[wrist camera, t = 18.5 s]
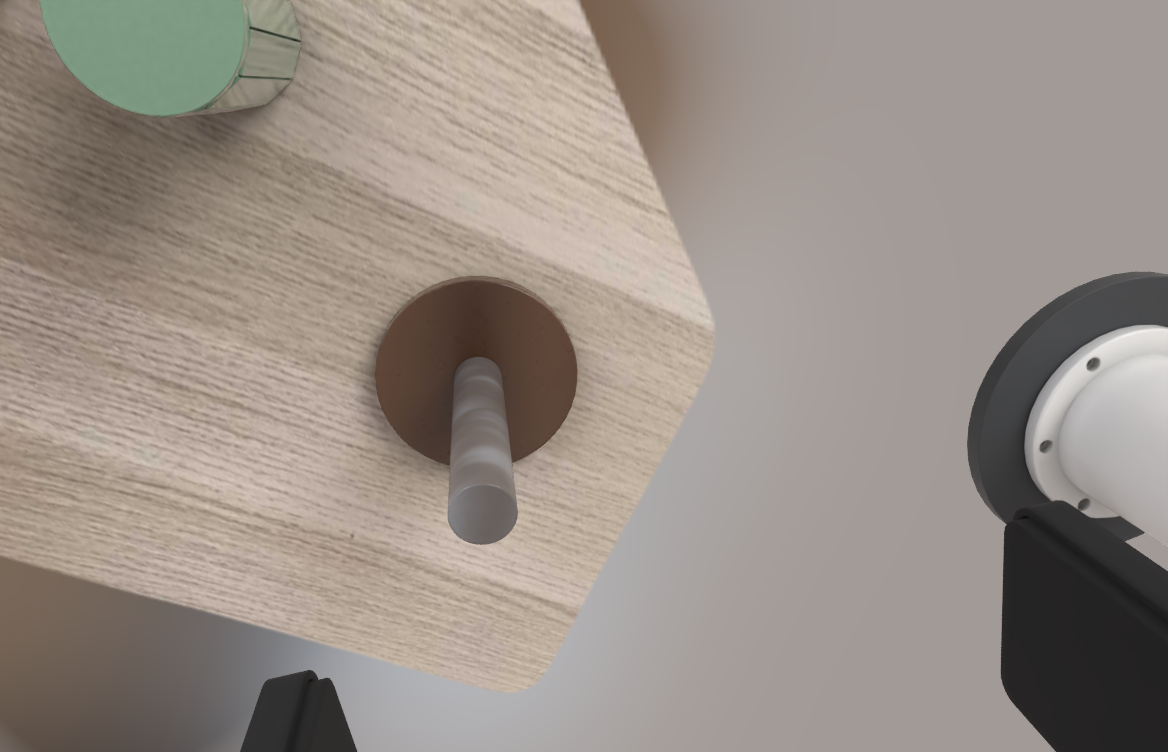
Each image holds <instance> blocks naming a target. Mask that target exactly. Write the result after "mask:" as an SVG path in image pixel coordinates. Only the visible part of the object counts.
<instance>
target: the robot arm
mask: <svg viewBox="0 0 1168 752" xmlns="http://www.w3.org/2000/svg"><path fill="white" fill-rule="evenodd" d="M1024 450H1025V458H1026V465H1027V467H1028V470H1029V473H1030V476H1031V478H1032V480H1033V481H1034V483H1035V484H1036V486H1037V487H1038V489H1039V490H1040V491H1041V492H1042V493H1043V494H1044V495H1045V496H1046V497H1047V498H1049V499H1050V500H1051V502H1046V503H1042V504H1038V505H1033V506H1029V507H1024V508H1021V509H1019V510H1017V511H1016V513H1015V514H1014V517H1013V521H1012V522H1009V523H1007V525H1006V527H1005V531H1004V563H1003V603H1002V604H1003V605H1002V643H1001V645H1002V647H1001V679H1002V683H1003V686H1004V689H1005V691H1006V693H1007V695H1008V697H1009V698H1010V700H1011V701H1012V702H1013V703H1014V705H1015V706H1016V707H1017V708H1018V709H1019V710H1020V712H1022V714H1023V715H1024V716H1025V717H1026V718H1027V719H1028V721H1029V722H1030V723H1031V724H1032V725H1033V726H1034V727H1035V729H1036V730H1037V731H1038V732H1039V733H1040V734H1041V735H1042V736H1043V738H1044V739H1045V740H1046V741H1047V742H1048V743H1049V744H1050V745H1051V747H1052V748H1053V749H1054V750H1055V751H1056V752H1168V571H1166V570H1165V569H1164V568H1162V567H1161V566H1159V565H1158V564H1156V563H1155V562H1153V561H1152V560H1150V559H1149V558H1148V557H1146V556H1145V555H1143V554H1142V553H1140V552H1139V551H1137V550H1136V549H1135V548H1133V547H1132V546H1130V545H1129V544H1127V543H1126V542H1124V541H1123V540H1122V539H1120V538H1119V537H1117V536H1116V535H1114V534H1113V533H1111V532H1110V531H1109V530H1107V529H1106V528H1104V527H1103V526H1101V525H1100V524H1098V523H1097V522H1096V521H1094V520H1093V519H1091V518H1110V517H1117V516H1121V517H1122V518H1124V519H1125V520H1127V521H1128V522H1130V523H1131V524H1133V525H1134V526H1136V527H1138V528H1139V529H1141V530H1142V531H1144V532H1145V533H1147V534H1148V535H1150V536H1151V537H1153V538H1155V539H1156V540H1157V541H1159V542H1161V543H1162V544H1164V545H1165V546H1166V547H1168V327H1164V326H1159V325H1134V326H1130V327H1125V328H1120V329H1117V330H1114V331H1112V332H1109V333H1107V334H1104V335H1102V336H1099V337H1098V338H1096V339H1094V340H1093V341H1091V342H1089V343H1088V344H1086V345H1084V346H1083V347H1081V348H1080V349H1079V350H1077V351H1076V352H1075V353H1074V354H1072V355H1071V356H1070V357H1069V358H1068V359H1066V360H1065V361H1064V362H1063V363H1062V364H1061V366H1060V367H1059V368H1058V369H1057V370H1056V371H1055V372H1054V373H1053V374H1052V375H1051V377H1050V378H1049V380H1048V381H1047V383H1046V384H1045V386H1044V387H1043V389H1042V390H1041V392H1040V393H1039V395H1038V397H1037V399H1036V401H1035V404H1034V406H1033V408H1032V410H1031V413H1030V416H1029V420H1028V424H1027V427H1026V433H1025V445H1024ZM1090 517H1091V518H1090ZM240 752H357V749H356V747H355V744H354V741H353V738H352V735H351V733H350V730H349V727H348V724H347V721H346V718H345V715H344V713H343V710H342V707H341V704H340V702H339V699H338V696H337V693H336V690H335V687H334V685H333V683H332V681H331V680H330V678H324V679H320V680H318V677H317V675H316V674H315V673H314V672H313V671H311V670H308V671H303V672H299V673H294V674H290V675H286V676H281V677H277V678H272V679H269V680H267V681H266V682H265V683H264V685H263V687H262V690H261V693H260V696H259V698H258V701H257V704H256V707H255V710H254V713H253V716H252V719H251V722H250V724H249V727H248V731H247V733H246V736H245V739H244V742H243V745H242V748H241V751H240Z"/></svg>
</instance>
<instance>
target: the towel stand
mask: <svg viewBox="0 0 1168 752" xmlns="http://www.w3.org/2000/svg"><path fill="white" fill-rule="evenodd" d="M375 376H376V388H377V393H378V398H379V401H380V404H381V407H382V409H383V412H384V414H385V416H386V417H387V419H388V421H389V423H390V424H391V426H392V427H393V428H394V430H395V431H396V432H397V433H398V435H399V436H400V437H401V438H402V439H403V440H404V441H405V442H406V443H408V444H409V445H410V446H411V447H412V448H414V449H415V450H417V451H418V452H420V453H421V454H423V455H424V456H426V457H428V458H431V459H433V460H435V461H437V462H440V463H443V464H446V465H450V476H449V497H448V521H449V524H450V527H451V528H452V530H453V531H454V533H455V534H456V535H457V536H458V537H460V538H461V539H463V540H464V541H467V542H469V543H473V544H480V545H482V544H490V543H494V542H497V541H499V540H501V539H502V538H504V537H505V536H506V535H507V534H509V532H510V531H511V530H512V529H513V527H514V525H515V523H516V520H517V515H518V510H517V502H516V493H515V485H514V476H513V467H512V462H515V461H517V460H520V459H522V458H524V457H526V456H527V455H529V454H531V453H533V452H534V451H536V450H537V449H538V448H540V447H541V446H543V445H544V444H545V443H546V442H547V441H548V440H549V439H550V438H551V437H552V436H553V435H554V434H555V433H556V431H557V430H558V429H559V428H560V426H561V425H562V423H563V422H564V420H565V418H566V417H567V415H568V412H569V410H570V408H571V406H572V403H573V399H574V396H575V392H576V386H577V363H576V356H575V352H574V349H573V345H572V343H571V340H570V338H569V335H568V333H567V331H566V329H565V327H564V325H563V323H562V322H561V320H560V318H559V317H558V316H557V315H556V313H555V312H554V311H553V309H552V308H551V307H550V306H549V305H548V304H547V303H546V302H545V301H544V300H542V299H541V298H540V297H538V296H537V295H536V294H534V293H533V292H531V291H529V290H528V289H526V288H524V287H522V286H520V285H518V284H515V283H513V282H510V281H507V280H503V279H499V278H494V277H486V276H467V277H459V278H454V279H450V280H446V281H443V282H440V283H438V284H435V285H433V286H431V287H429V288H427V289H425V290H424V291H422V292H420V293H419V294H417V295H416V296H415V297H413V298H412V299H411V300H409V301H408V302H407V303H406V304H405V305H404V306H403V307H402V308H401V309H400V310H399V312H398V313H397V314H396V316H395V317H394V318H393V320H392V321H391V323H390V325H389V326H388V328H387V330H386V332H385V335H384V337H383V340H382V342H381V345H380V348H379V352H378V357H377V361H376V372H375Z"/></svg>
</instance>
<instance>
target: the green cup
mask: <svg viewBox="0 0 1168 752" xmlns="http://www.w3.org/2000/svg"><path fill="white" fill-rule="evenodd" d="M40 7H41V13H42V18H43V22H44V25H45V28H46V31H47V34H48V36H49V38H50V41H51V43H52V45H53V47H54V49H55V50H56V52H57V54H58V55H59V57H60V59H61V60H62V61H63V63H64V64H65V65H66V67H67V68H68V70H69V71H70V72H71V73H72V74H73V75H74V76H75V77H76V78H77V79H78V80H79V81H80V82H81V83H82V84H83V85H84V86H85V87H86V88H88V89H89V90H90V91H91V92H93V93H94V94H96V95H97V96H99V97H100V98H101V99H103V100H105V101H107V102H109V103H111V104H112V105H114V106H117V107H119V108H122V109H124V110H127V111H130V112H134V113H137V114H142V115H149V116H152V117H155V118H171V117H181V116H191V115H201V114H211V113H221V112H231V111H237V110H242V109H248V108H253V107H259V106H264V104H268V103H269V102H270V101H271V100H272V99H273V98H274V97H275V96H276V95H277V94H278V93H279V92H280V91H281V90H282V89H284V88H285V87H286V86H287V85H288V84H289V83H290V82H291V79H290V78H293V76H294V72H295V68H296V64H297V60H298V56H299V52H300V48H301V43H300V42H298V41H301V36H300V32H299V29H298V25H297V21H296V18H295V14H294V10H293V7H292V3H291V2H290V1H288V0H40Z"/></svg>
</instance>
